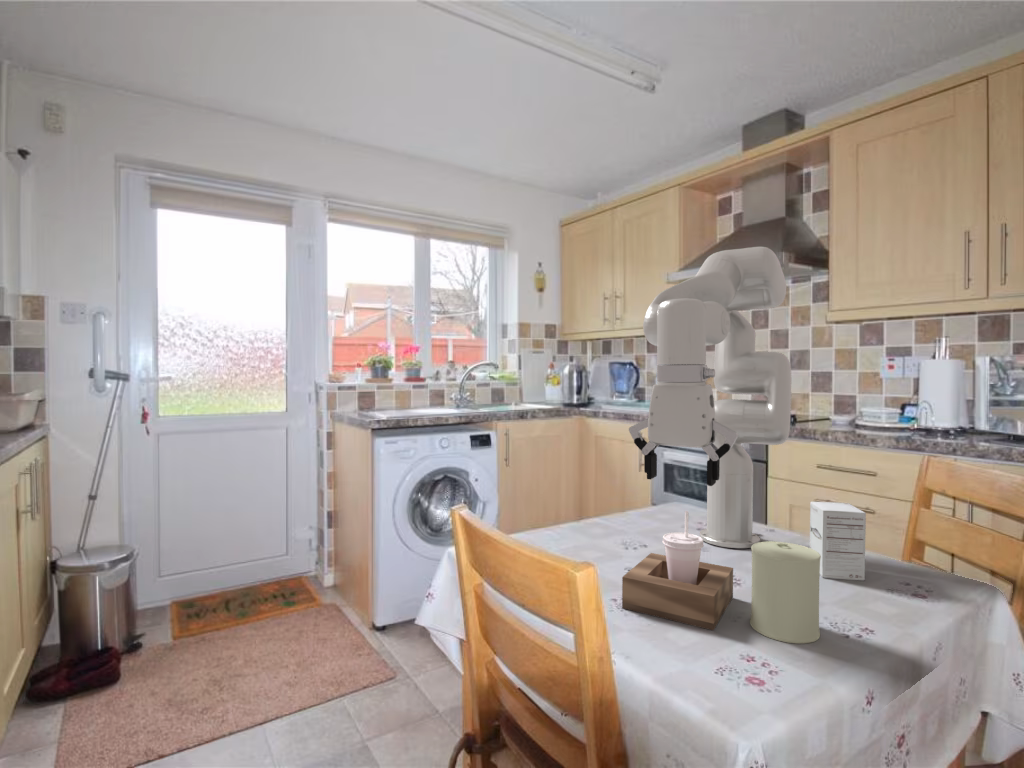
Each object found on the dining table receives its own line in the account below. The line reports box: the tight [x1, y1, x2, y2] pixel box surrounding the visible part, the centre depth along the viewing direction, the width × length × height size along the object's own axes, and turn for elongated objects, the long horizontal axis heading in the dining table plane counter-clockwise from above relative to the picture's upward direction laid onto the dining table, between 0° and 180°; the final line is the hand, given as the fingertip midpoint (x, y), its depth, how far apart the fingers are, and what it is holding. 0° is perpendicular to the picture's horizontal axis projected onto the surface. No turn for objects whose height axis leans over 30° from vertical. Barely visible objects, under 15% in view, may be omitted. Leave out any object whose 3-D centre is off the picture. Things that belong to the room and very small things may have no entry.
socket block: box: [621, 552, 734, 631], centre depth 90 cm, size 14×14×5 cm
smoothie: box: [662, 510, 704, 585], centre depth 89 cm, size 6×6×14 cm
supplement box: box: [809, 501, 867, 581], centre depth 103 cm, size 7×7×13 cm
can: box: [749, 540, 821, 645], centre depth 81 cm, size 9×9×12 cm
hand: (680, 481), depth 90 cm, fingers open, 9 cm apart
